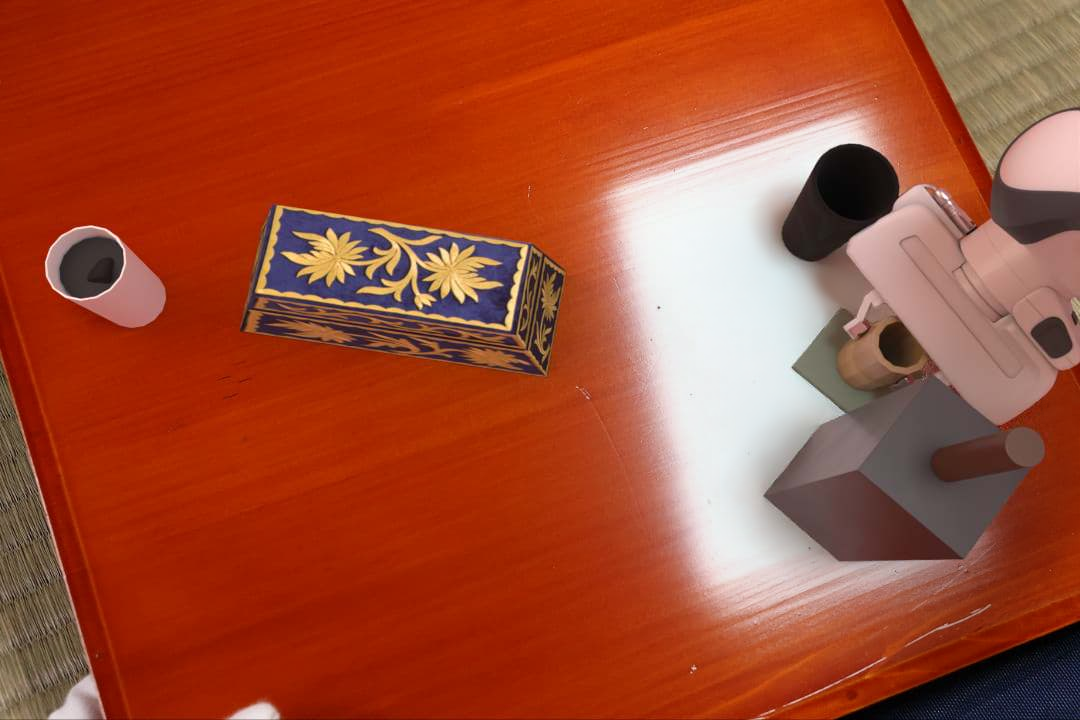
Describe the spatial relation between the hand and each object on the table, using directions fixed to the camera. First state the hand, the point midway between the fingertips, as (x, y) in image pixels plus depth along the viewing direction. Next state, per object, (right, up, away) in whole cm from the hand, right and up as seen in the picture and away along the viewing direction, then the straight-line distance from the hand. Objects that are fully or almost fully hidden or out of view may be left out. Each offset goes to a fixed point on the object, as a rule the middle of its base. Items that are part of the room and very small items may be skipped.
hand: (872, 362), depth 78 cm
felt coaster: (0, -1, +5) cm, 5 cm away
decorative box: (-43, +6, +5) cm, 44 cm away
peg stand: (-3, -12, +2) cm, 13 cm away
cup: (-3, +13, +8) cm, 15 cm away
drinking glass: (-69, +6, +4) cm, 69 cm away
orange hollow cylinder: (+1, 0, +4) cm, 5 cm away
